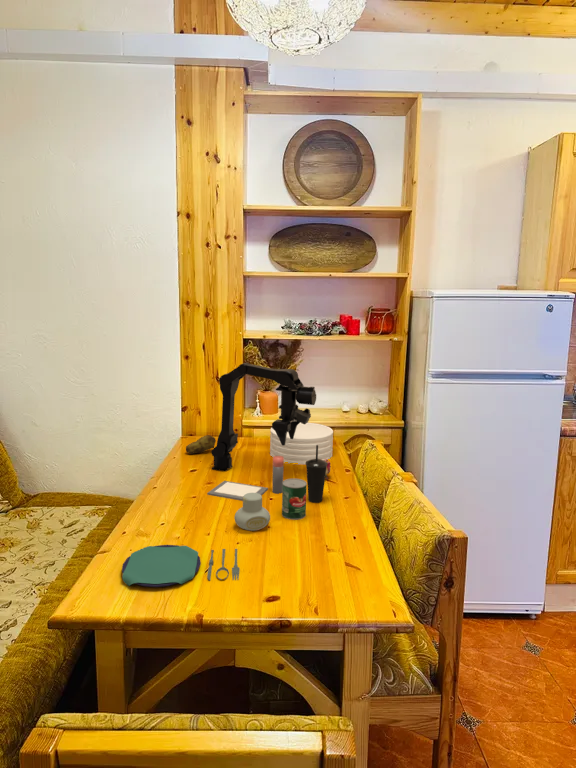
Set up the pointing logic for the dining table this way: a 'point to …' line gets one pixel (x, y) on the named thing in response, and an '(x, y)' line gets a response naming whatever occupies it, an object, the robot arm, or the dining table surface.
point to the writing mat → (235, 490)
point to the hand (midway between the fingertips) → (287, 442)
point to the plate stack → (304, 443)
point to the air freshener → (252, 513)
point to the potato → (201, 445)
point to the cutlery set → (167, 566)
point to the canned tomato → (294, 499)
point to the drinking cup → (316, 478)
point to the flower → (327, 468)
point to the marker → (277, 474)
